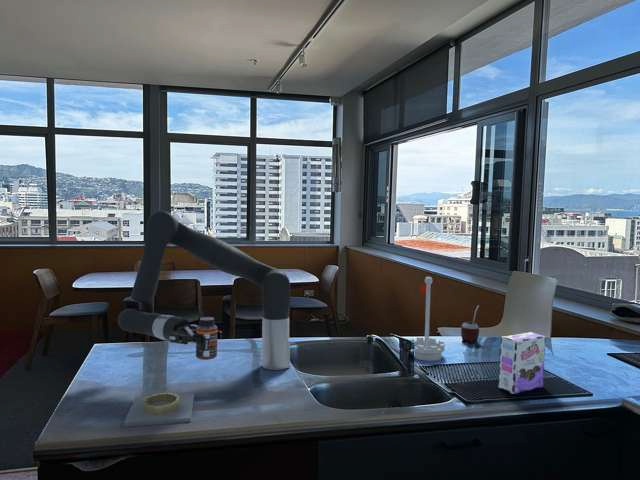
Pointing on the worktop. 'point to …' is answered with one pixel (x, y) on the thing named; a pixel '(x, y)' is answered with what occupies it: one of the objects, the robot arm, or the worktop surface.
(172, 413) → the grey square plate
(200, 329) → the supplement bottle
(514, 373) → the candy box
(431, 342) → the flag stand
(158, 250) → the robot arm
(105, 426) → the worktop surface
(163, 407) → the brass collar
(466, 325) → the mate gourd
